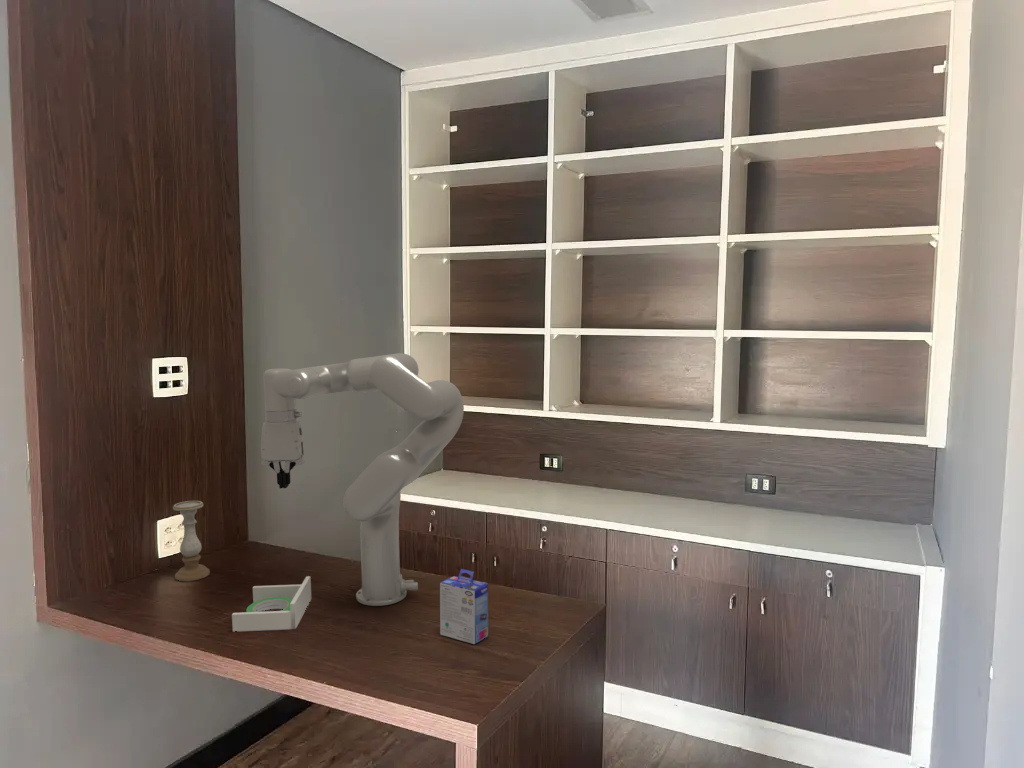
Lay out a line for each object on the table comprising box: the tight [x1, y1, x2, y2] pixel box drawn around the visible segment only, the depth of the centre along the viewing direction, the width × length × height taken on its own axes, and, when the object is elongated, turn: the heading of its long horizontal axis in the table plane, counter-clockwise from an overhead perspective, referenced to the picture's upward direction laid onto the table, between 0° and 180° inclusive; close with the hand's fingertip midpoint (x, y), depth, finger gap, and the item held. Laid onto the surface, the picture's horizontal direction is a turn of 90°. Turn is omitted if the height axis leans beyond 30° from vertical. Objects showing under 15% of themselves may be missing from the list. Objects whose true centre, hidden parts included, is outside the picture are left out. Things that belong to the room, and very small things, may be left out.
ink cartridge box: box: [439, 568, 489, 645], centre depth 158 cm, size 10×6×14 cm, turn 58°
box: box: [231, 575, 312, 632], centre depth 171 cm, size 14×17×6 cm
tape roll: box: [245, 597, 292, 612], centre depth 170 cm, size 11×11×3 cm
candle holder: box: [172, 500, 211, 582], centre depth 196 cm, size 9×9×20 cm
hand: (284, 487), depth 185 cm, fingers closed
